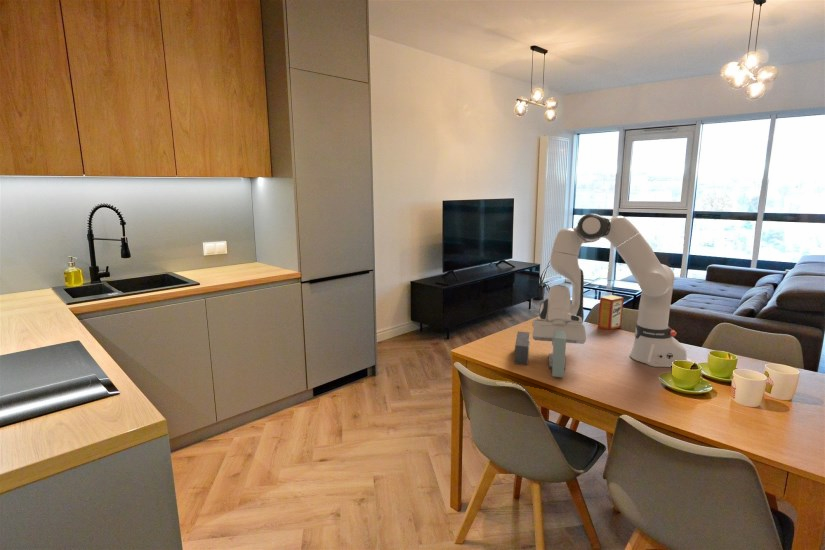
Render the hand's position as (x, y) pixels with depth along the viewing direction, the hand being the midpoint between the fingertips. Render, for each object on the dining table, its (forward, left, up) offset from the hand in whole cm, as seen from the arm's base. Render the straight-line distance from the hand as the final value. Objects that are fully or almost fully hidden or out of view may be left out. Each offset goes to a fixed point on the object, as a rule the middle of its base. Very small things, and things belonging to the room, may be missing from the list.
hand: (558, 351), depth 173 cm
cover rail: (0, -6, -7) cm, 9 cm away
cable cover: (0, +6, -6) cm, 8 cm away
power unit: (+14, -9, -7) cm, 18 cm away
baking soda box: (-27, -61, -7) cm, 67 cm away
